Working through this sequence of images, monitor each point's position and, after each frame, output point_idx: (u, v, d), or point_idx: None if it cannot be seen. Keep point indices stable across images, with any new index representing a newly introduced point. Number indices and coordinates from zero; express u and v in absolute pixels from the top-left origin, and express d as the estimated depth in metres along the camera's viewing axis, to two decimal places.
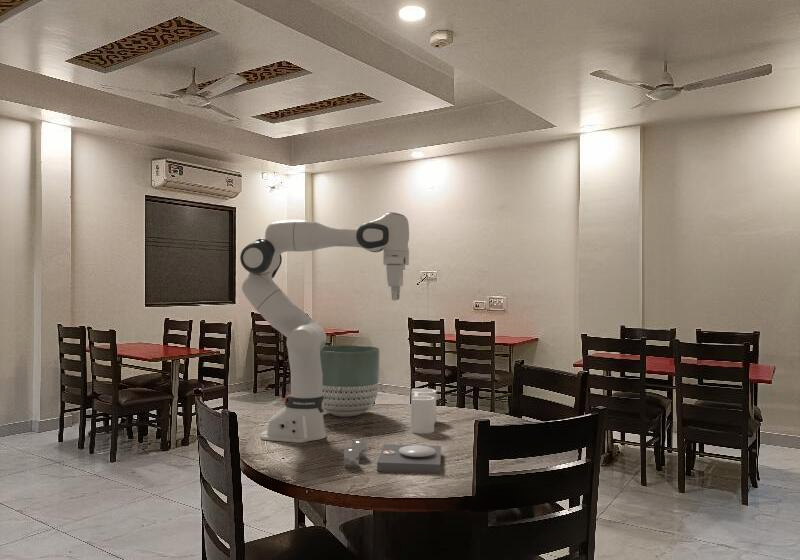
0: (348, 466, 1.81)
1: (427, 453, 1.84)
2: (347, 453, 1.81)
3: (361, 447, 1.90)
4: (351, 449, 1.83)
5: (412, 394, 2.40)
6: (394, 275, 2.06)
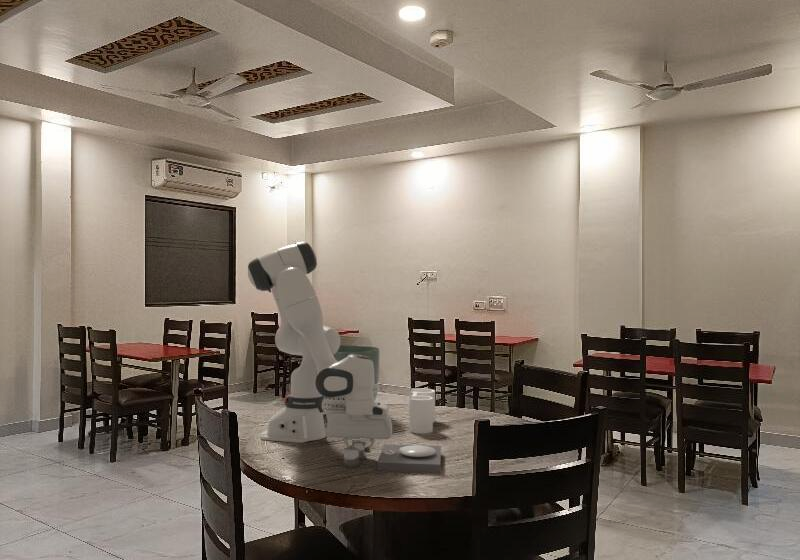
0: (348, 466, 1.81)
1: (427, 453, 1.84)
2: (347, 453, 1.81)
3: (361, 447, 1.90)
4: (351, 449, 1.83)
5: (411, 394, 2.40)
6: (391, 425, 1.92)
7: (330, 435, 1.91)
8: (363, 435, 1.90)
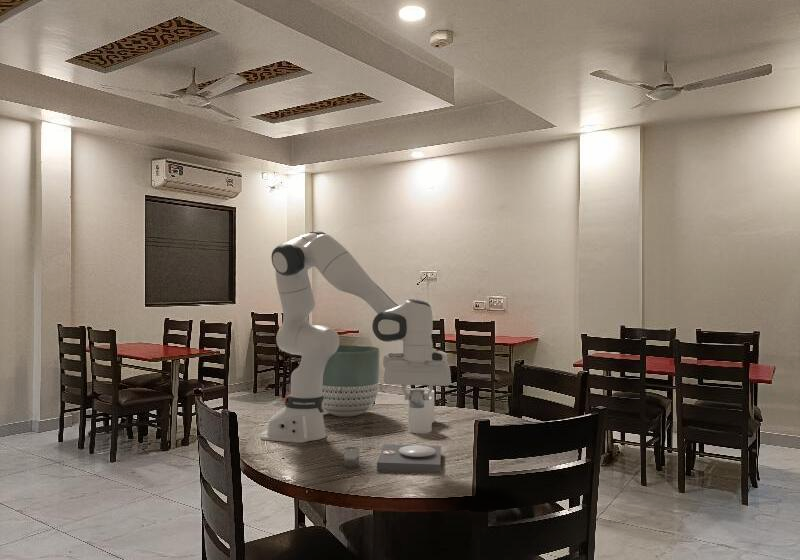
0: (348, 466, 1.81)
1: (427, 453, 1.84)
2: (348, 453, 1.81)
3: (420, 395, 1.85)
4: (351, 449, 1.83)
5: None
6: None
7: (388, 382, 1.86)
8: (422, 382, 1.86)
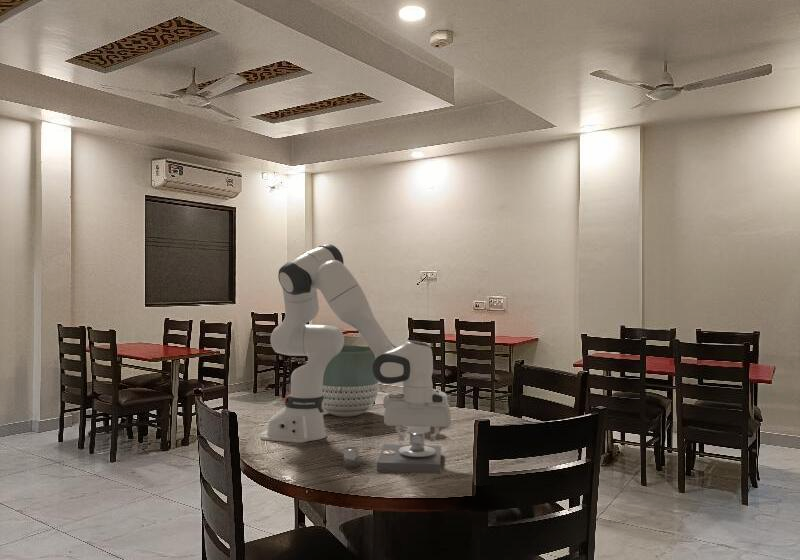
0: (349, 466, 1.81)
1: (427, 453, 1.84)
2: (348, 453, 1.81)
3: (420, 439, 1.86)
4: (351, 449, 1.83)
5: None
6: (450, 413, 1.87)
7: (388, 423, 1.87)
8: (422, 423, 1.86)
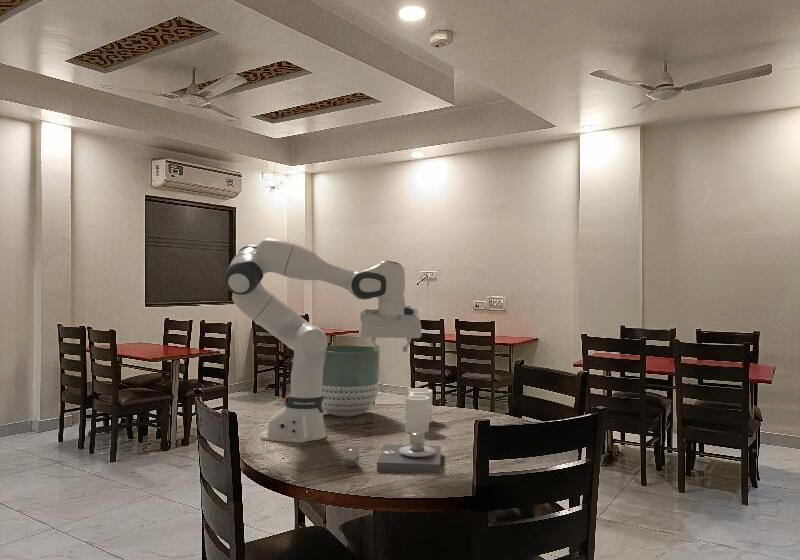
0: (351, 466, 1.81)
1: (427, 453, 1.84)
2: (349, 453, 1.81)
3: (420, 439, 1.86)
4: (351, 449, 1.83)
5: (408, 394, 2.41)
6: None
7: (364, 335, 2.06)
8: (395, 335, 2.06)
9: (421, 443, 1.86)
